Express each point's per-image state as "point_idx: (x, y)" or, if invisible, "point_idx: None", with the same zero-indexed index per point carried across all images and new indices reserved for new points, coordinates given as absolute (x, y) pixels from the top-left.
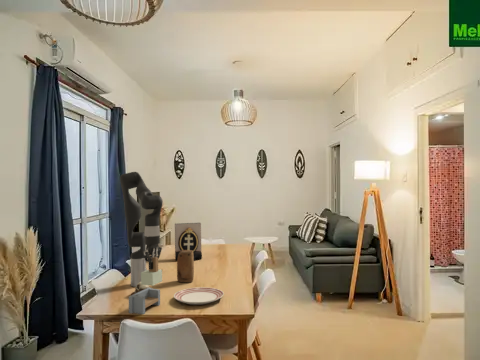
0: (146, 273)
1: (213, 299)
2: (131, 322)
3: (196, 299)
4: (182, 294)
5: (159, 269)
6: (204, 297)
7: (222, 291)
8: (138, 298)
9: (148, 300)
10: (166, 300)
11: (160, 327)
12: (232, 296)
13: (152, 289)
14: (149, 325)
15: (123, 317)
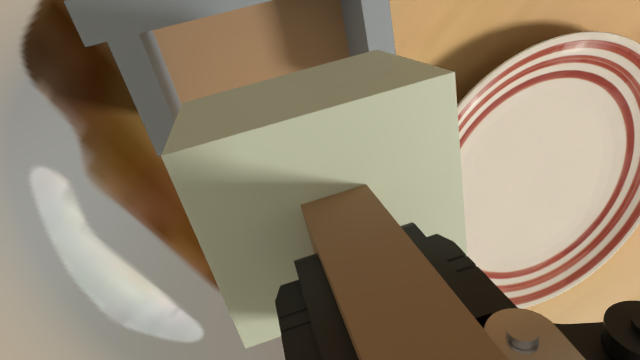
0: (208, 256)
1: (529, 260)
2: (37, 170)
3: (506, 192)
4: (546, 71)
5: (463, 237)
6: (548, 199)
7: (621, 245)
8: (137, 103)
9: (273, 60)
10: (439, 33)
11: (135, 328)
12: (603, 269)
13: (370, 20)
14: (105, 276)
15: (29, 47)
